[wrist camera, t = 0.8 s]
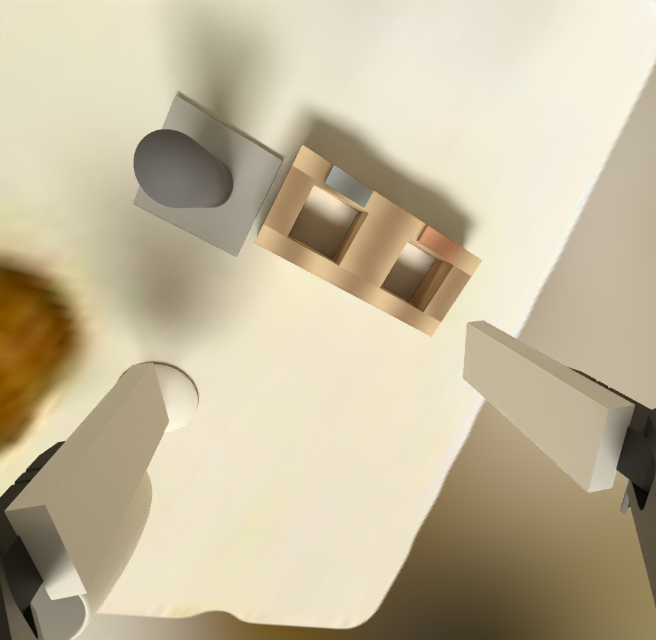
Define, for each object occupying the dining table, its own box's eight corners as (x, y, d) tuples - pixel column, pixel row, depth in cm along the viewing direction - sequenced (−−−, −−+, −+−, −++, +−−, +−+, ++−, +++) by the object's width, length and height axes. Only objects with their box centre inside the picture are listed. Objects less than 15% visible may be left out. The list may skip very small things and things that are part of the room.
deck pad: (135, 204, 31) (133, 204, 30) (177, 96, 29) (175, 95, 28) (236, 256, 33) (236, 256, 33) (282, 161, 31) (282, 160, 31)
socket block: (257, 238, 33) (253, 243, 29) (299, 151, 31) (302, 143, 27) (416, 324, 39) (433, 338, 34) (461, 254, 37) (485, 261, 32)
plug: (175, 191, 31) (122, 184, 20) (194, 145, 30) (149, 113, 19) (221, 216, 32) (193, 221, 21) (241, 172, 31) (222, 155, 20)
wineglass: (213, 388, 38) (141, 586, 18) (173, 443, 39) (67, 681, 20) (139, 348, 35) (-40, 530, 15) (100, 409, 37) (-108, 645, 17)
